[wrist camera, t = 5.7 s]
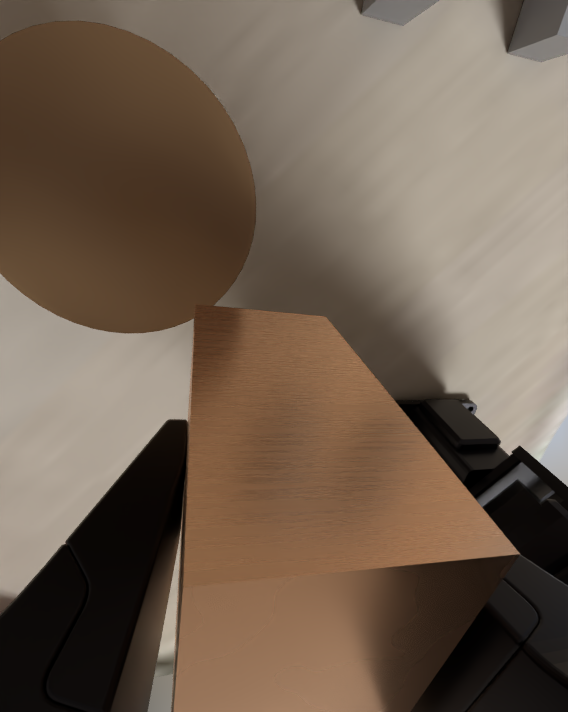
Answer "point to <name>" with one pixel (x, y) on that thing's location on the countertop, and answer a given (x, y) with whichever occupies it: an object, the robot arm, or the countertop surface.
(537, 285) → the countertop surface
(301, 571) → the orange tan block
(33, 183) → the knob
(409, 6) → the grey u-shaped frame
